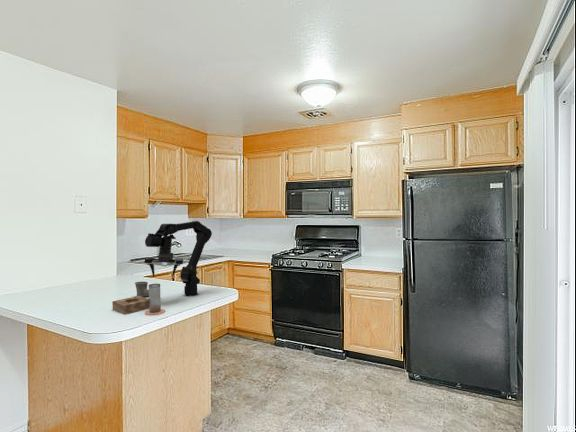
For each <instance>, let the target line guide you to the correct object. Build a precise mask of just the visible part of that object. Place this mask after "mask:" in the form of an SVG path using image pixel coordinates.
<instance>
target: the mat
mask: <svg viewBox="0 0 576 432" xmlns="http://www.w3.org/2000/svg"><path fill="white" fill-rule="evenodd" d="M165 312H166V309H165V308H161V311H160V312H157V313H150V312H149V309H147V310H146V311H145V312H144V315H145V316H146V315H147V316H157V315H161V314H165Z"/></svg>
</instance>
